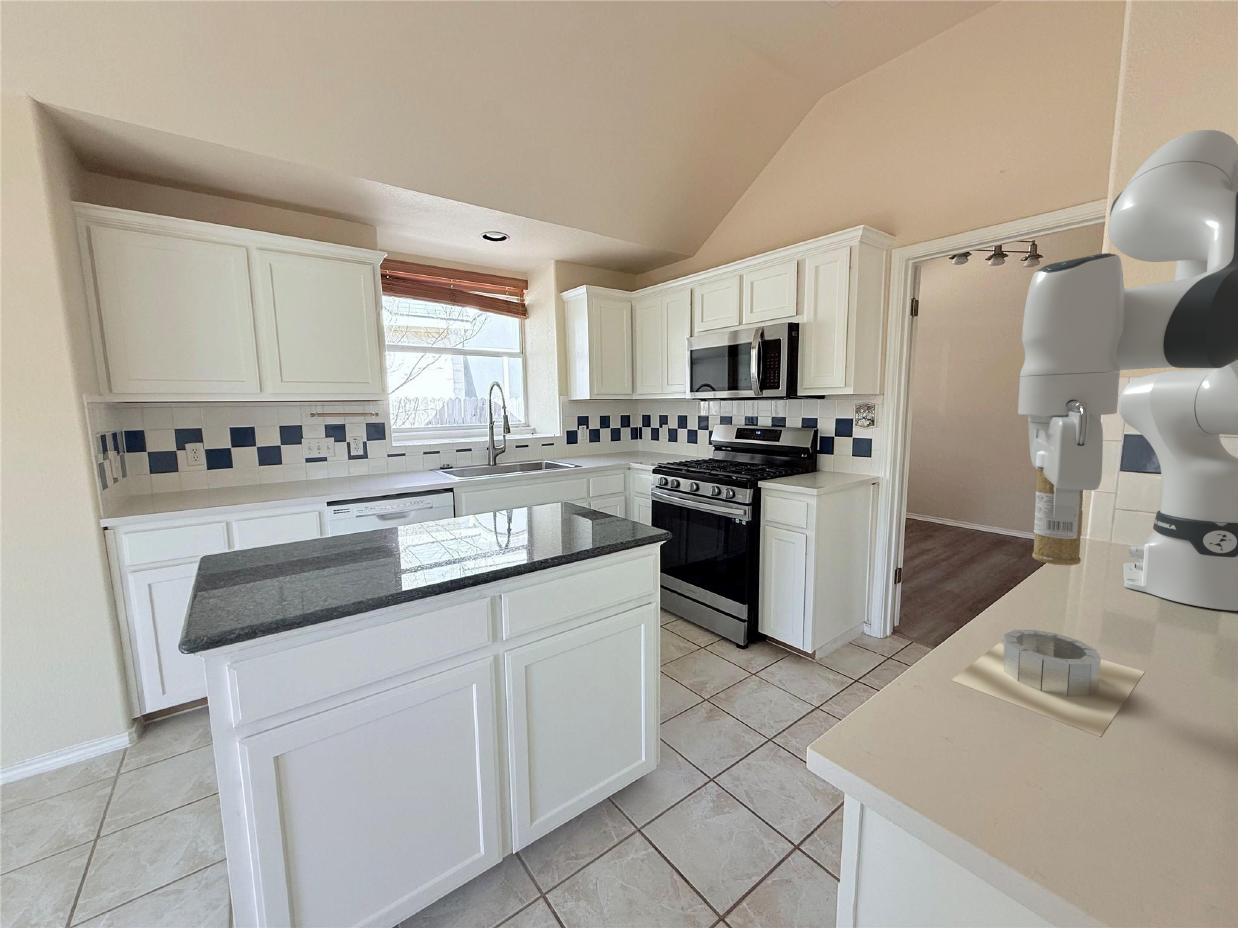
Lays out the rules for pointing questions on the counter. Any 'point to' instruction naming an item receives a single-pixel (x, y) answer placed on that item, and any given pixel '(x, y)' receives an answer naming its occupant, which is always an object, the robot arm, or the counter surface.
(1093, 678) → the steel ring
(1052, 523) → the sprinkles bottle
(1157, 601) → the counter surface
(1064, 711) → the birch board
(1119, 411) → the robot arm
